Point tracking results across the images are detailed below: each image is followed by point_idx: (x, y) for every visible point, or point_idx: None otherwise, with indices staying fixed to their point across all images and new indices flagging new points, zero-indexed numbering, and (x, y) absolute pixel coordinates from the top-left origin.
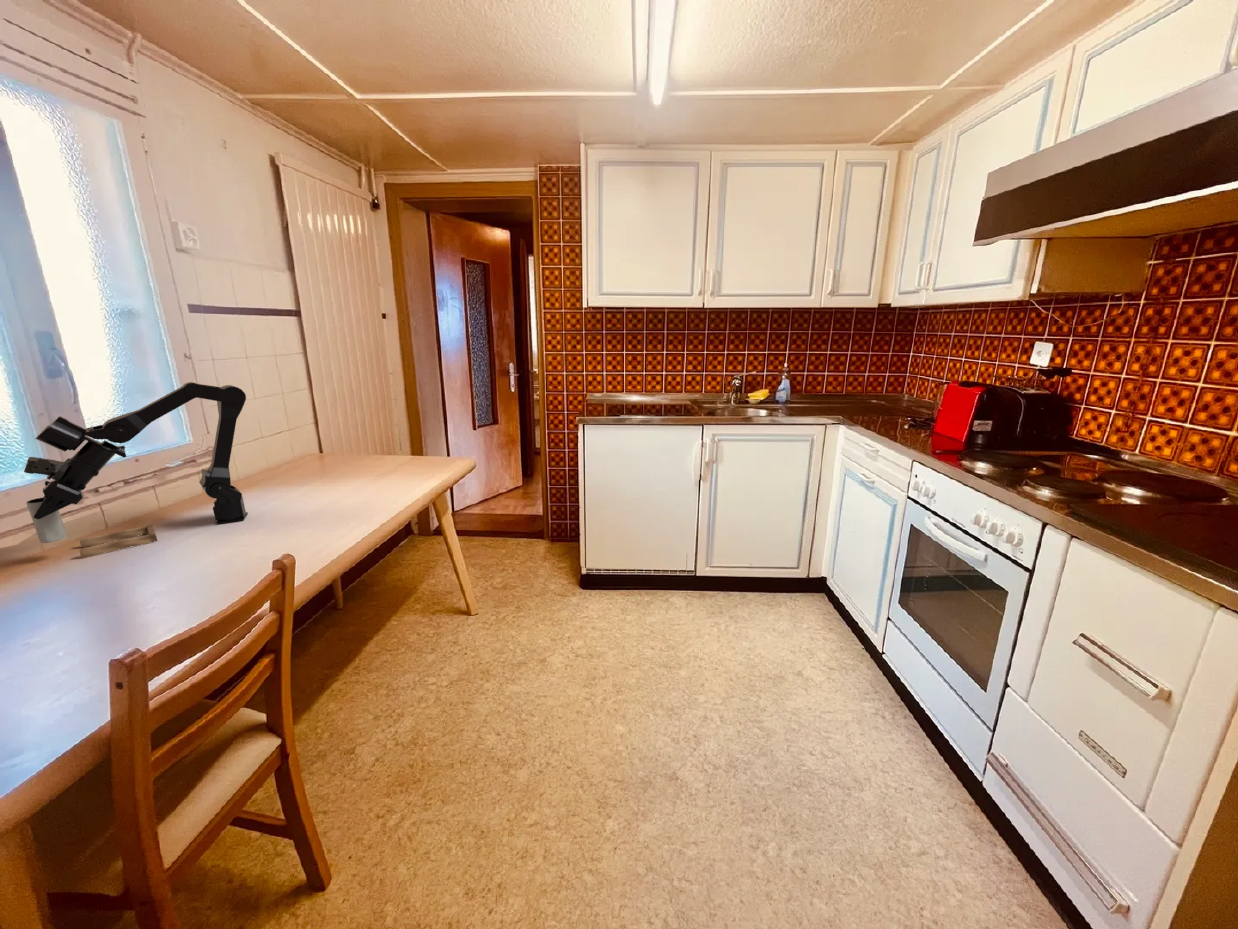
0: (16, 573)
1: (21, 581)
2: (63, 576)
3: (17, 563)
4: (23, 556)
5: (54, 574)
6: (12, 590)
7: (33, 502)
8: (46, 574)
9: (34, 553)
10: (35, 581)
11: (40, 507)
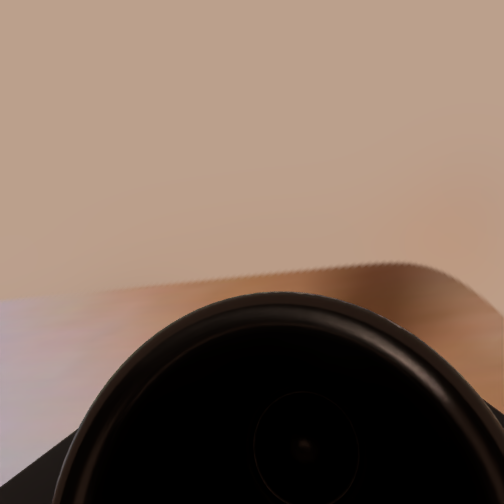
0: (212, 295)
1: (94, 318)
2: (7, 446)
3: (358, 284)
4: (461, 294)
5: (66, 415)
6: (23, 303)
7: (400, 384)
8: (96, 389)
9: (483, 331)
10: (47, 358)
11: (11, 486)
